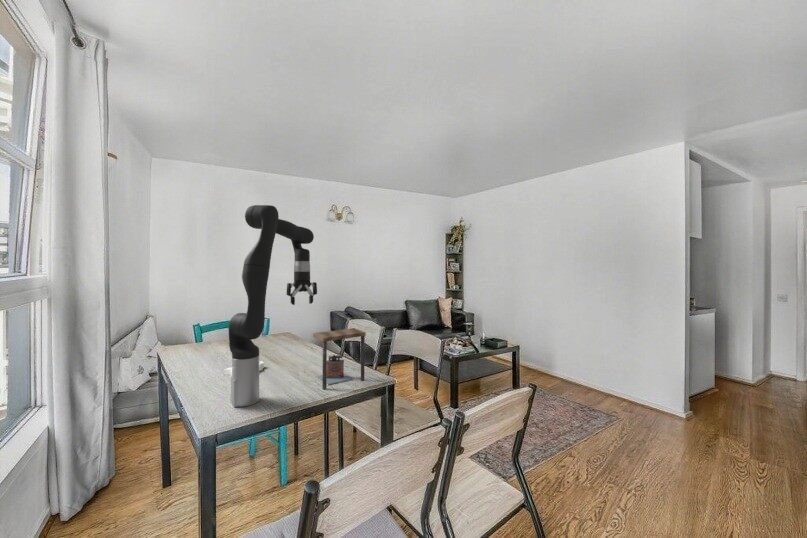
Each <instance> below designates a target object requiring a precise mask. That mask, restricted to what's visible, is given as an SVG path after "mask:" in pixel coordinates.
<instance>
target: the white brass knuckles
mask: <svg viewBox="0 0 807 538" xmlns="http://www.w3.org/2000/svg"><path fill="white" fill-rule="evenodd" d="M264 365H265V362H264V361H261V360H259V371H260V372H261V371H262V370H264V369H263V368H264ZM222 373H223V374H224V375H225V374H226V375H225V376H229V378H230V379H231V377H232V366H231V367H227V368H225V369H223V370H222Z"/></svg>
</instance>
